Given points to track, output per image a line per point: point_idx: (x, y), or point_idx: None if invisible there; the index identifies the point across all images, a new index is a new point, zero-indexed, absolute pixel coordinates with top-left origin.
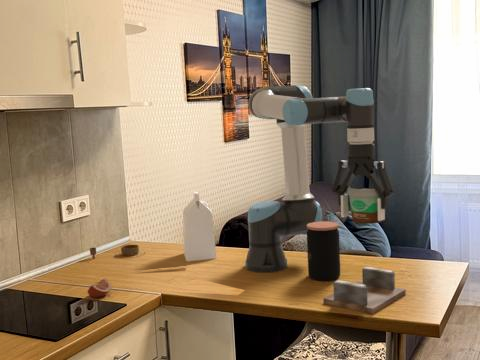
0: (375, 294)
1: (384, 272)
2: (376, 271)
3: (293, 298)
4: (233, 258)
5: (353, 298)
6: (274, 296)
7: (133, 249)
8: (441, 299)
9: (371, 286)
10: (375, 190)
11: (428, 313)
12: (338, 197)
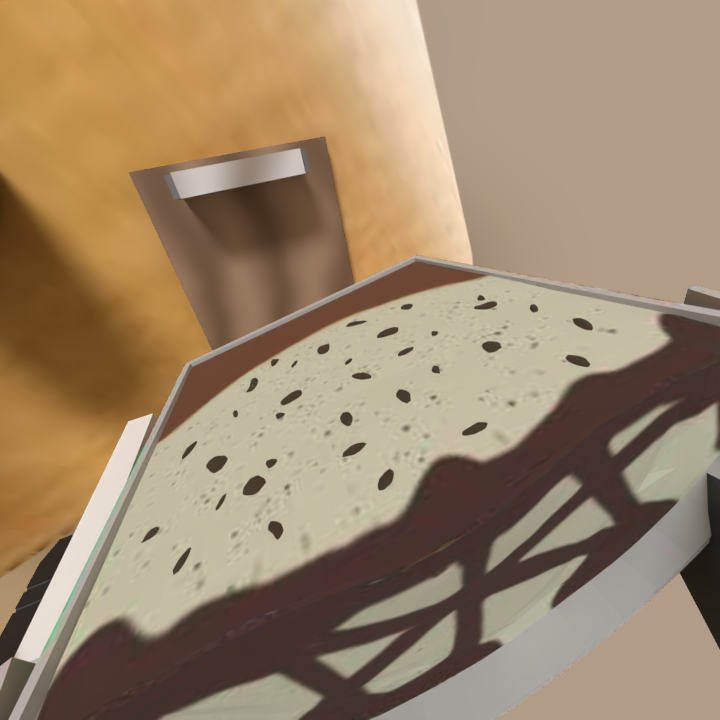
0: (296, 253)
1: (279, 178)
2: (243, 185)
3: (139, 415)
4: None
5: None
6: (87, 446)
7: None
8: (421, 104)
9: (224, 195)
10: (653, 548)
11: (442, 237)
12: None
